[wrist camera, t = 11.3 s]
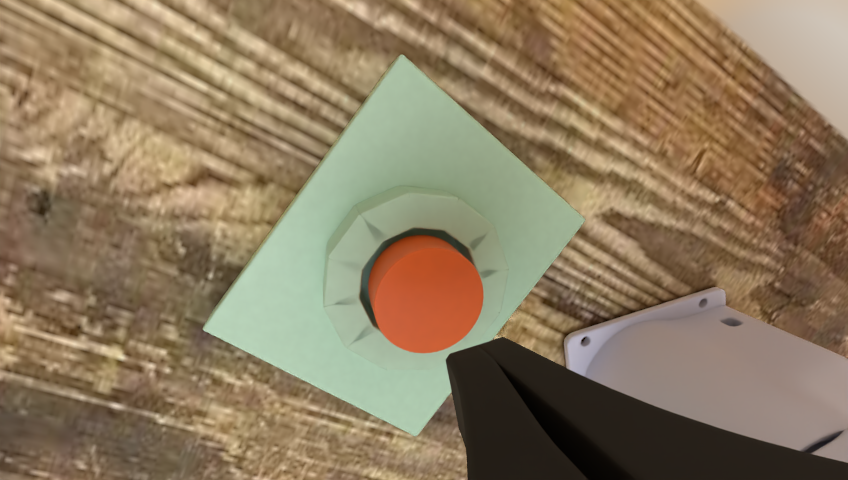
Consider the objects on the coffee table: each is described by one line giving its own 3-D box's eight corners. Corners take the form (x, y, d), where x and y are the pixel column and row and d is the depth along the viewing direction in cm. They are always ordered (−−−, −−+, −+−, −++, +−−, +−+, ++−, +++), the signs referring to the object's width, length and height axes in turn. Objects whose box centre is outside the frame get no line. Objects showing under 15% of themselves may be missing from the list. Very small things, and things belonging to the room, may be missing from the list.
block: (393, 60, 15) (413, 41, 12) (564, 212, 19) (616, 229, 15) (212, 310, 16) (184, 356, 13) (408, 413, 20) (426, 470, 16)
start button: (409, 214, 14) (421, 225, 12) (485, 269, 15) (505, 286, 13) (346, 297, 14) (350, 320, 12) (426, 346, 15) (439, 372, 14)
